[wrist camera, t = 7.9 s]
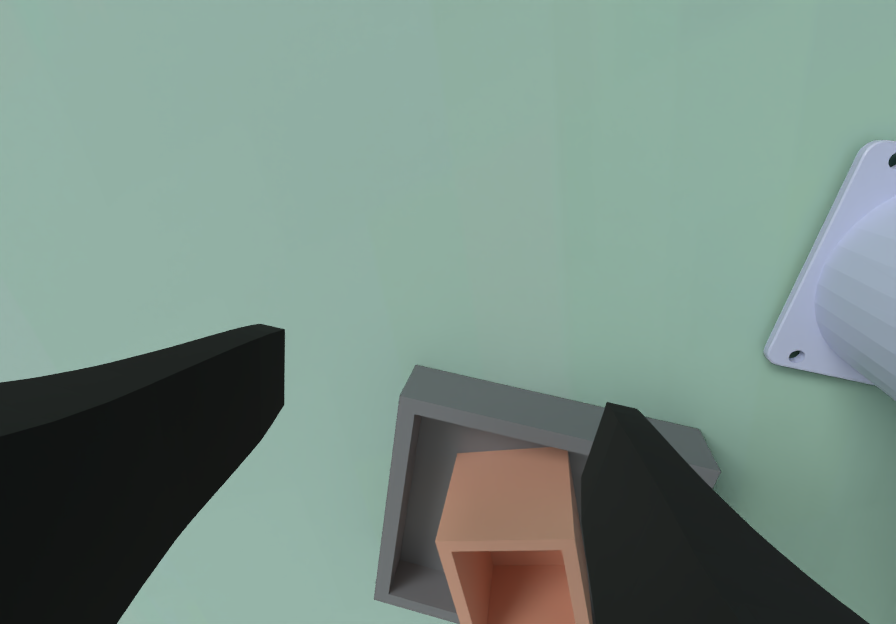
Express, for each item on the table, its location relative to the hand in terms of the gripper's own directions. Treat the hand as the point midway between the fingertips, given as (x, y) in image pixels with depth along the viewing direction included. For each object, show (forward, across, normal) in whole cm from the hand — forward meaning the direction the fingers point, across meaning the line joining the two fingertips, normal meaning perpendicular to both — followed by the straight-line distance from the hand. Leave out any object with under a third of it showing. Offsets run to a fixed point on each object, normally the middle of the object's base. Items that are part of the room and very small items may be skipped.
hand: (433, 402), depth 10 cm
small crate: (+9, -4, +11) cm, 15 cm away
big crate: (+9, -4, +11) cm, 15 cm away
